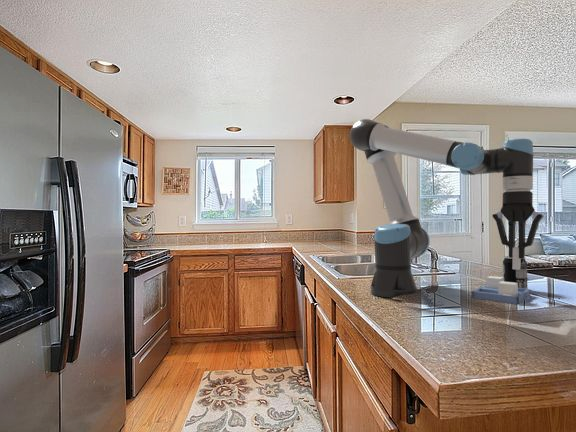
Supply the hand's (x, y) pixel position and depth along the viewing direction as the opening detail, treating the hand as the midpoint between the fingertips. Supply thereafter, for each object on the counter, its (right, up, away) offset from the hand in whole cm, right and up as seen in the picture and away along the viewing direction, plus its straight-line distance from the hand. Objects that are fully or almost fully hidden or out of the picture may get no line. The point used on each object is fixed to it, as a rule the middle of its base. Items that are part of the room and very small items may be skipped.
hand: (516, 268), depth 102 cm
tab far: (-4, -8, +4) cm, 10 cm away
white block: (-6, -8, -5) cm, 11 cm away
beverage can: (+6, -10, +9) cm, 14 cm away
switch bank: (-5, -10, 0) cm, 11 cm away
